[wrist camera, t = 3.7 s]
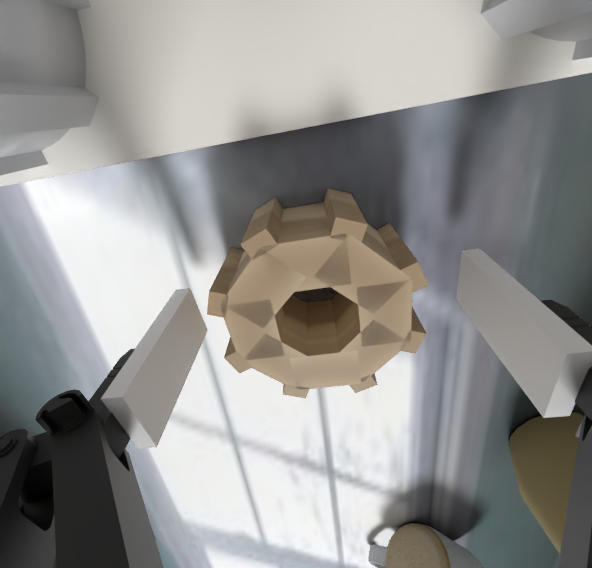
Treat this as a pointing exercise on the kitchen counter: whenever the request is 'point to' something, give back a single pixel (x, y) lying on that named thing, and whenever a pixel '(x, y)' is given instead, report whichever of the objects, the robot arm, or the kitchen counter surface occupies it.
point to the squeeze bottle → (546, 468)
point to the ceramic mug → (421, 550)
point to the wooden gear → (321, 314)
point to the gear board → (252, 68)
